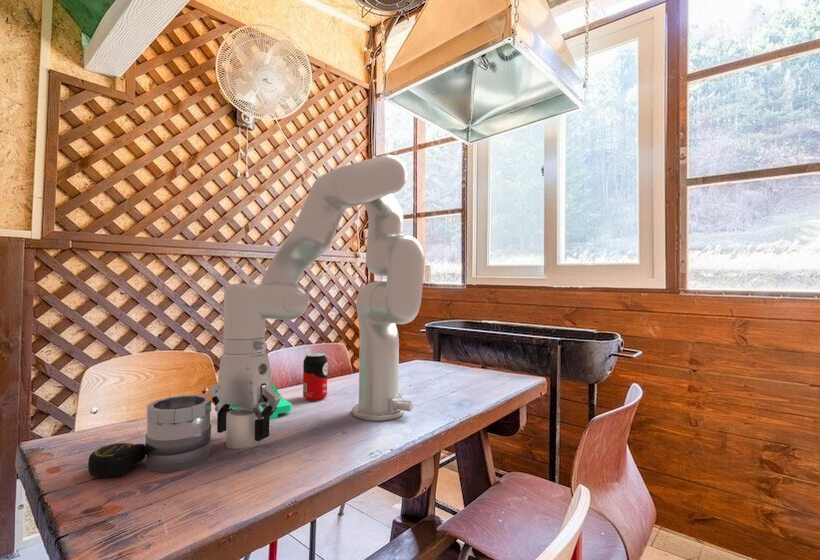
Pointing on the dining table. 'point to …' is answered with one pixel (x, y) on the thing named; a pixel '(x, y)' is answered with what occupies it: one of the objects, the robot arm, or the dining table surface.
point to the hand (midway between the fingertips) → (242, 434)
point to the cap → (240, 428)
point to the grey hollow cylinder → (178, 433)
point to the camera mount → (281, 407)
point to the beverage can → (315, 376)
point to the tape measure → (115, 459)
